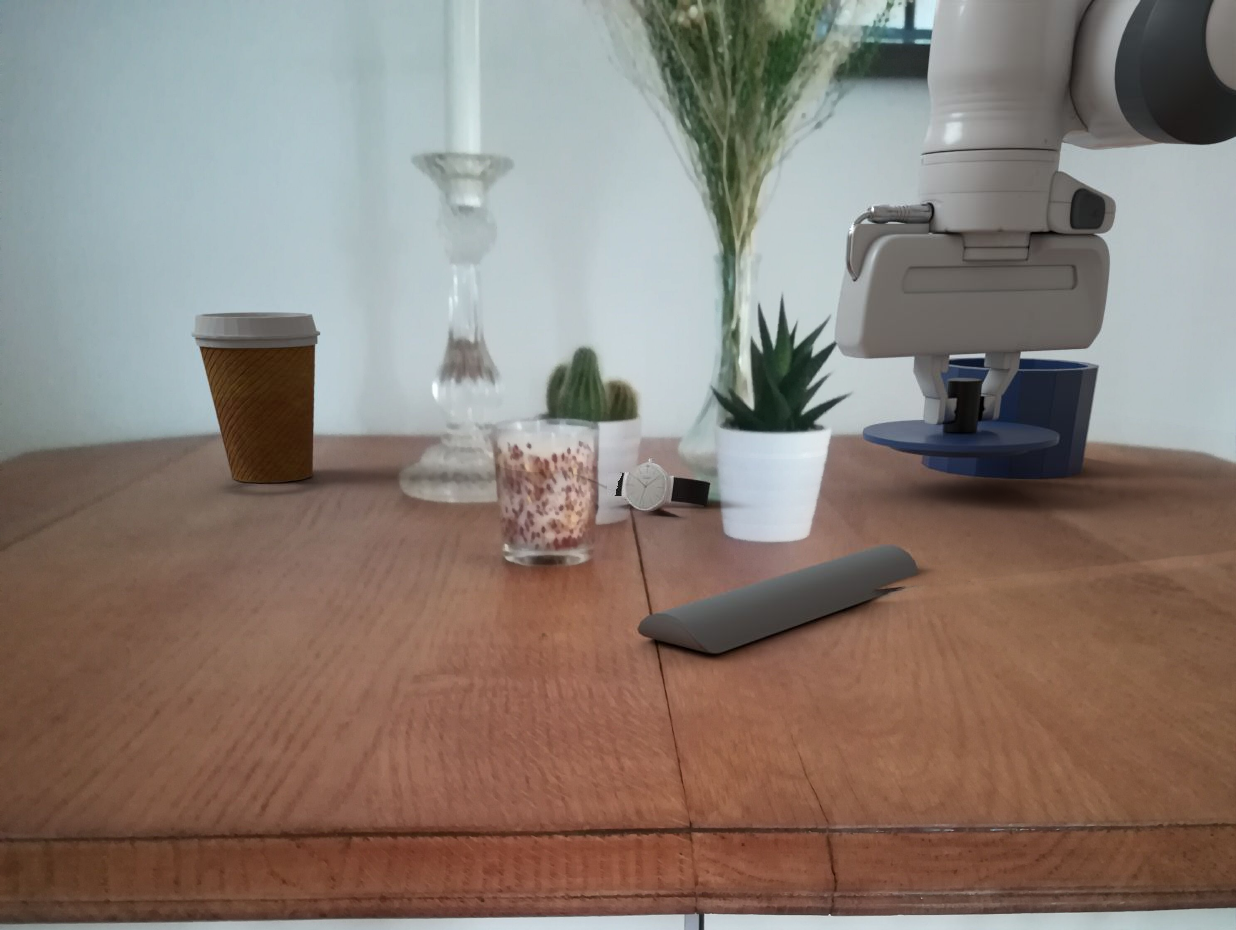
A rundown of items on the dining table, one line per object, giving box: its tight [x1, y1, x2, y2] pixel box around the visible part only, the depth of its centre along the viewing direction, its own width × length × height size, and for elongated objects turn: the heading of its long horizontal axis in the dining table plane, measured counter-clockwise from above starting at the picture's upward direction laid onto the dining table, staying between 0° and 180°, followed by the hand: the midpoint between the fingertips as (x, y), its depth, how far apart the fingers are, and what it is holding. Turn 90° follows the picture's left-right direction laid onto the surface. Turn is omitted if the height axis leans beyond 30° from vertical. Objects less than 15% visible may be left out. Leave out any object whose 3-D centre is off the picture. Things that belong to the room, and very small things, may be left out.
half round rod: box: [637, 544, 919, 654], centre depth 61 cm, size 4×20×2 cm, turn 138°
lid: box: [862, 378, 1059, 458], centre depth 86 cm, size 14×14×5 cm
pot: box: [921, 356, 1100, 480], centre depth 99 cm, size 13×13×8 cm
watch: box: [615, 458, 711, 513], centre depth 85 cm, size 8×5×4 cm, turn 63°
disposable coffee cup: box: [190, 311, 321, 484], centre depth 95 cm, size 10×10×12 cm
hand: (960, 422), depth 87 cm, fingers closed on lid, 2 cm apart
